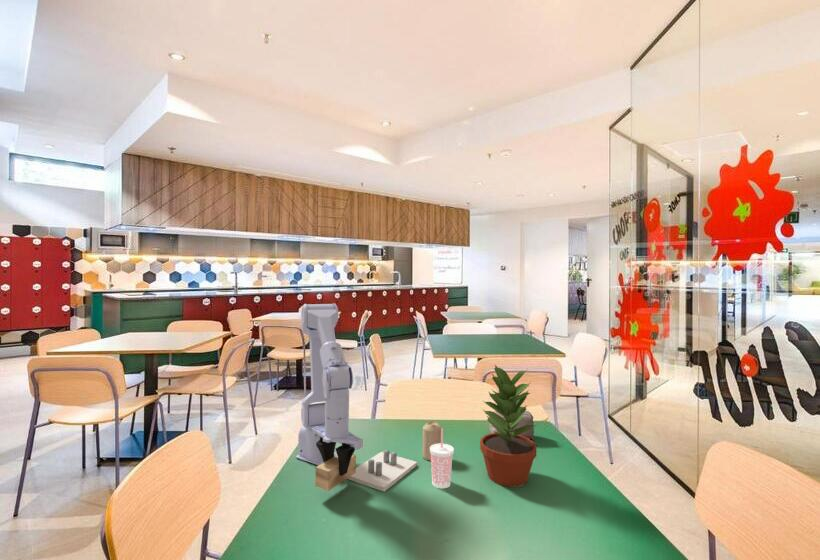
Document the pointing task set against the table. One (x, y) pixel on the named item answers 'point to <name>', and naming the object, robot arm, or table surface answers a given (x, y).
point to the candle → (430, 437)
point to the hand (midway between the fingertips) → (336, 471)
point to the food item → (519, 424)
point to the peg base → (382, 470)
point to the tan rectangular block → (333, 473)
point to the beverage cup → (441, 463)
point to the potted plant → (508, 434)
